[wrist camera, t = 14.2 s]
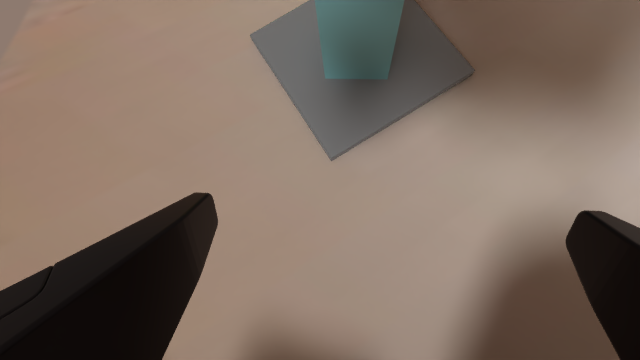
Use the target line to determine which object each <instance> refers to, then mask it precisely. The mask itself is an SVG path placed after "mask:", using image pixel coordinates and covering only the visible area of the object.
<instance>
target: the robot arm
mask: <svg viewBox="0 0 640 360" xmlns="http://www.w3.org/2000/svg"><path fill="white" fill-rule="evenodd" d="M217 225H218V218H217V213H216V209H215V204H214V200H213V197H212V195H211V194H209V193H193V194H191V195H189V196H187V197H185V198H183V199H181V200H179V201H177V202H175V203H173V204H171V205H169V206H167V207H165V208H164V209H162V210H160V211H158V212H156V213H154V214H152V215H150V216H148V217H146V218H144V219H142V220H140V221H138V222H136V223H134V224H132V225H130V226H128V227H126V228H124V229H122V230H120V231H118V232H116V233H114V234H112V235H110V236H109V237H107V238H105V239H103V240H101V241H99V242H97V243H95V244H93V245H91V246H89V247H87V248H85V249H83V250H81V251H79V252H77V253H75V254H73V255H71V256H69V257H67V258H65V259H63V260H61V261H59V262H57V263H56V264H55V265H54V266H49V267H47V268H45V269H43V270H42V271H40V272H38V273H36V274H34V275H32V276H30V277H28V278H26V279H24V280H22V281H20V282H18V283H16V284H14V285H12V286H9V287H7V288H5V289H3V290H1V291H0V360H162V358H163V356H164V354H165V352H166V349H167V347H168V345H169V343H170V341H171V339H172V337H173V334H174V332H175V330H176V328H177V326H178V324H179V322H180V319H181V317H182V315H183V313H184V311H185V309H186V307H187V304H188V302H189V300H190V298H191V296H192V294H193V292H194V289H195V287H196V285H197V283H198V280H199V278H200V276H201V273H202V270H203V268H204V265H205V262H206V259H207V256H208V253H209V250H210V247H211V244H212V241H213V238H214V235H215V232H216V229H217ZM566 247H567V250H568V252H569V254H570V257H571V259H572V262H573V264H574V266H575V269H576V271H577V274H578V276H579V278H580V281H581V283H582V286H583V288H584V290H585V293H586V295H587V297H588V300H589V302H590V304H591V306H592V308H593V310H594V312H595V314H596V316H597V318H598V319H599V321H600V323H601V325H602V327H603V329H604V330H605V332H606V334H607V336H608V338H609V340H610V341H611V343H612V345H613V347H614V349H615V351H616V352H617V354H618V356H619V358H620V360H640V228H639V227H636V226H634V225H632V224H630V223H628V222H625V221H623V220H621V219H619V218H616V217H614V216H612V215H610V214H608V213H605V212H602V211H582V212H580V213H579V214H578V215H577V217H576V219H575V221H574V223H573V225H572V227H571V229H570V231H569V233H568V235H567V237H566Z"/></svg>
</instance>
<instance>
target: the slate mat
mask: <svg viewBox="0 0 640 360" xmlns="http://www.w3.org/2000/svg"><path fill="white" fill-rule="evenodd" d="M250 37H251V39H252V41H253V42H254V44H255V45H256V47H257V48H258V50H259V51H260V53H261V55H262V56H263V58H264V59H265V61H266V62H267V64H268V65H269V67H270V68H271V70H272V71H273V73H274V74H275V76H276V77H277V79H278V80H279V82H280V84H281V85H282V87H283V88H284V90H285V91H286V93H287V94H288V96H289V97H290V99H291V100H292V102H293V103H294V105H295V106H296V108H297V110H298V111H299V113H300V114H301V116H302V117H303V119H304V120H305V122H306V123H307V125H308V126H309V128H310V129H311V131H312V132H313V134H314V135H315V137H316V139H317V140H318V142H319V143H320V145H321V146H322V148H323V149H324V151H325V152H326V154H327V155H328V157H329V158H330V160H331V161H332V160H334V159H336V158H337V157H339V156H341V155H342V154H344V153H345V152H347V151H349V150H350V149H352V148H354V147H355V146H357V145H359V144H360V143H362V142H363V141H365V140H367V139H368V138H370V137H372V136H373V135H375V134H376V133H378V132H380V131H381V130H383V129H385V128H386V127H388V126H390V125H391V124H393V123H394V122H396V121H398V120H399V119H401V118H403V117H404V116H406V115H407V114H409V113H411V112H412V111H414V110H416V109H417V108H419V107H421V106H422V105H424V104H425V103H427V102H429V101H430V100H432V99H434V98H435V97H437V96H438V95H440V94H442V93H443V92H445V91H447V90H448V89H450V88H451V87H453V86H455V85H456V84H458V83H460V82H461V81H463V80H465V79H466V78H468V77H469V76H471V75H472V74H473V73H474V71H475V70H474V69H473V67H472V66H471V65H470V64H469V63H468V62H467V60H466V59H465V58H464V57H463V56H462V55H461V53H460V52H459V51H458V50H457V49H456V48H455V47H454V45H453V44H452V43H451V42H450V41H449V40H448V38H447V37H446V36H445V35H444V34H443V33H442V31H441V30H440V29H439V28H438V27H437V26H436V25H435V23H434V22H433V21H432V20H431V19H430V18H429V16H428V15H427V14H426V13H425V12H424V11H423V10H422V8H421V7H420V6H419V5H418V4H417V3H416V1H415V0H404V4H403V9H402V14H401V18H400V23H399V28H398V32H397V37H396V42H395V46H394V51H393V56H392V60H391V65H390V70H389V74H388V79H325V74H324V66H323V59H322V51H321V44H320V36H319V29H318V21H317V14H316V6H315V0H309V1H307V2H306V3H304V4H302V5H300V6H299V7H297V8H295V9H294V10H292V11H290V12H288V13H287V14H285V15H283V16H282V17H280V18H278V19H276V20H275V21H273V22H271V23H269V24H268V25H266V26H264V27H263V28H261V29H259V30H257V31H256V32H254V33H252V34H251V35H250Z"/></svg>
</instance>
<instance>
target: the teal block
mask: <svg viewBox="0 0 640 360" xmlns="http://www.w3.org/2000/svg"><path fill="white" fill-rule="evenodd" d="M403 4H404V0H315V6H316V14H317V21H318V29H319V36H320V44H321V51H322V59H323V66H324V74H325V79H388V74H389V70H390V65H391V60H392V56H393V51H394V46H395V42H396V37H397V32H398V28H399V23H400V18H401V14H402V9H403Z"/></svg>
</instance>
